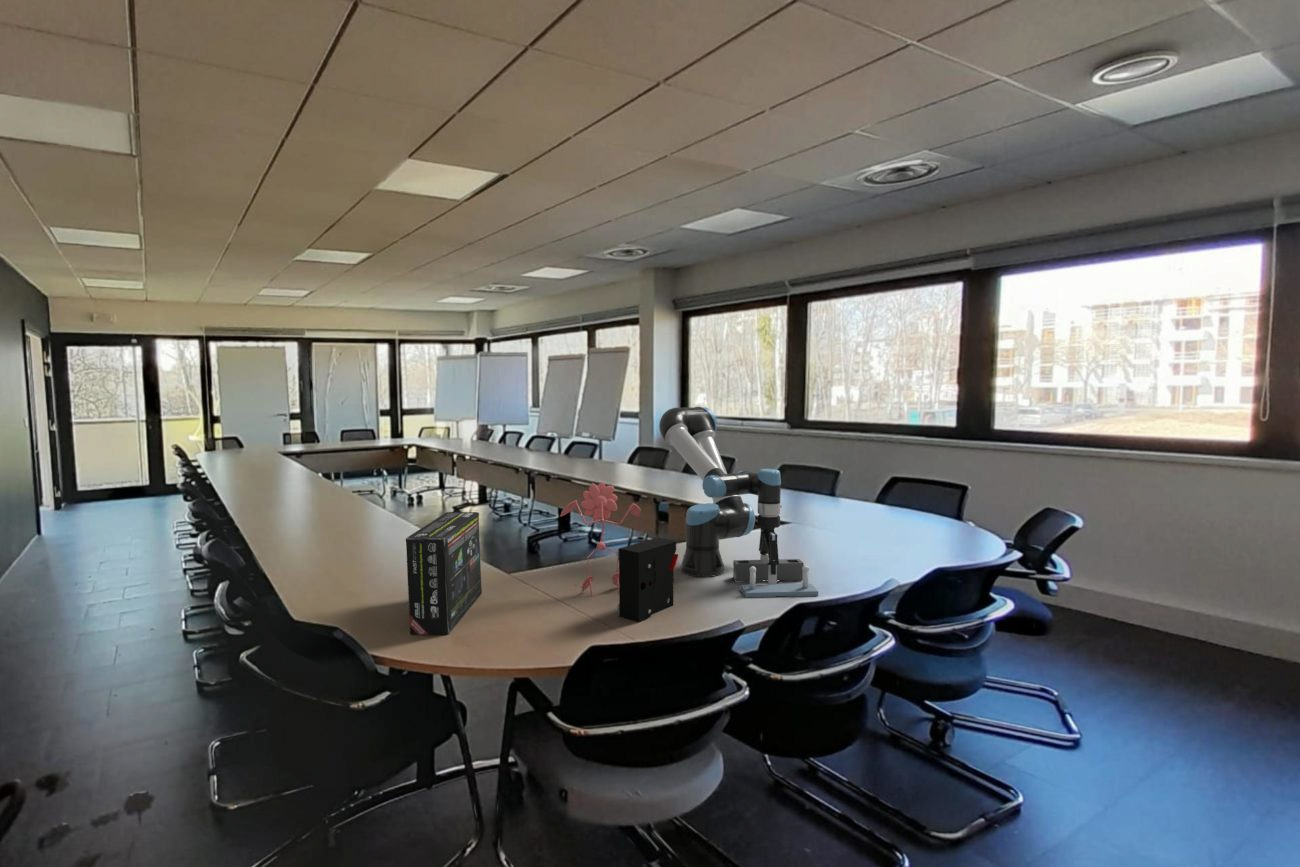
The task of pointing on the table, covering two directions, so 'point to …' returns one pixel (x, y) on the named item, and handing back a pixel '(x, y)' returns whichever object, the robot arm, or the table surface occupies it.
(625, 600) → the electrical component
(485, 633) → the table surface
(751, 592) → the mounting plate
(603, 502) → the pink flower figurine
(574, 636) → the table surface
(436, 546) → the router box
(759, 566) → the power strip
